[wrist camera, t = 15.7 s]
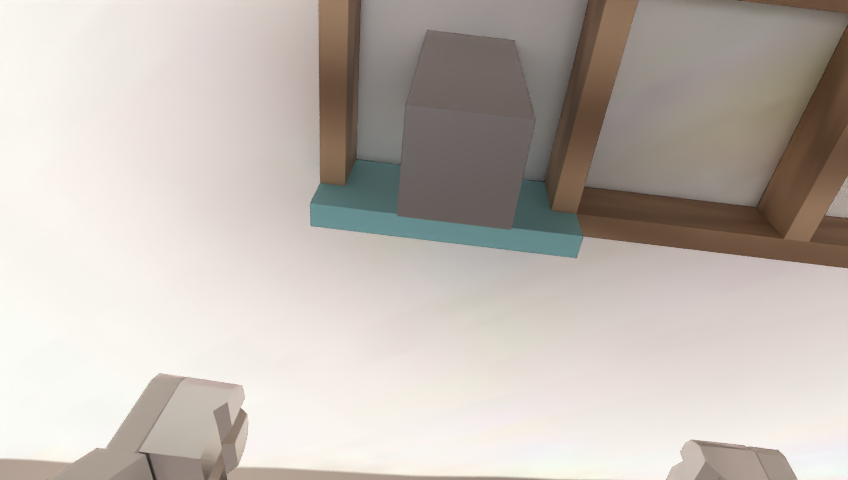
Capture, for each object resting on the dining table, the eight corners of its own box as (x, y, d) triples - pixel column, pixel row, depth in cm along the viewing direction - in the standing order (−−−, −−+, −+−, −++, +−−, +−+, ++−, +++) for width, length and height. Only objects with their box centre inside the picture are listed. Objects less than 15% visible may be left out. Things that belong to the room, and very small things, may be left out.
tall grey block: (427, 30, 25) (405, 104, 17) (514, 40, 25) (535, 120, 17) (419, 113, 27) (396, 216, 19) (499, 123, 27) (511, 229, 19)
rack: (334, -90, 23) (304, -82, 19) (1175, 8, 23) (1335, 38, 18) (333, 177, 30) (310, 225, 26) (978, 254, 29) (1062, 316, 25)
